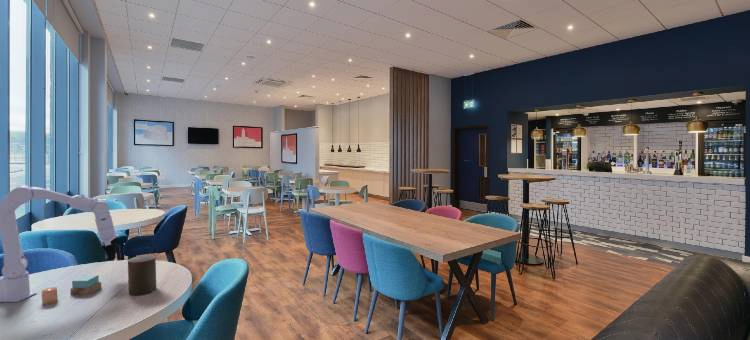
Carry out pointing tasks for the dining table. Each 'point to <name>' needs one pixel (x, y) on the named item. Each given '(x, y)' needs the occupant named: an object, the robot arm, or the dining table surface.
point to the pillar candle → (141, 275)
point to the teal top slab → (85, 281)
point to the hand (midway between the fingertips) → (113, 256)
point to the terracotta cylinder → (49, 295)
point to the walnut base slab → (85, 289)
